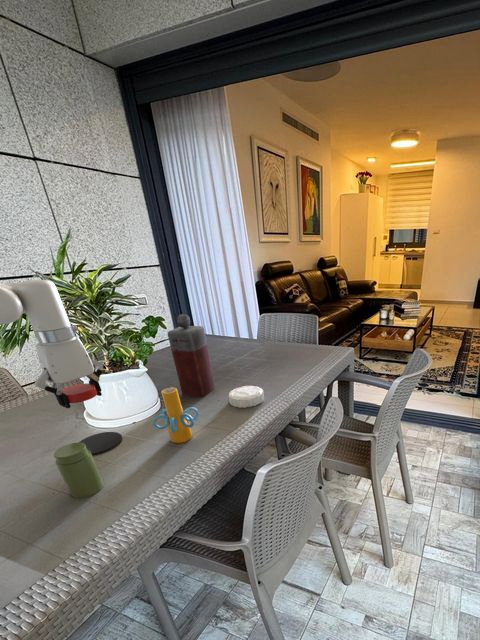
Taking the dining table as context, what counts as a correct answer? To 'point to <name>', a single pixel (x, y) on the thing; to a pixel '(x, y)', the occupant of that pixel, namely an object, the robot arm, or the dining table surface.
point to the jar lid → (80, 392)
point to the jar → (78, 470)
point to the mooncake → (246, 396)
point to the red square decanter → (191, 358)
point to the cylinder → (176, 417)
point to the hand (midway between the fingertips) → (82, 400)
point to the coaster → (102, 442)
